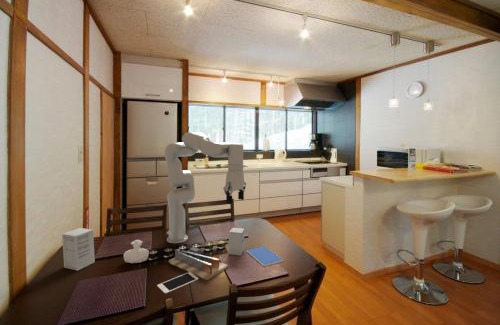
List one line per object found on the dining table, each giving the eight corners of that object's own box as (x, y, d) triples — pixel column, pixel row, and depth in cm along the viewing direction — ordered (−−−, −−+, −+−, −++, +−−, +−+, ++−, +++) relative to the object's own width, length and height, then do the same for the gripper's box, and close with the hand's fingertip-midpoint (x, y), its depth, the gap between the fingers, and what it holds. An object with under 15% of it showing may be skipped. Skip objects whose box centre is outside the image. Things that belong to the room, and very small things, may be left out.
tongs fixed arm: (174, 258, 130) (173, 250, 129) (178, 257, 132) (177, 248, 131) (210, 274, 115) (210, 264, 115) (214, 272, 117) (214, 262, 117)
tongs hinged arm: (181, 258, 129) (181, 250, 129) (182, 257, 130) (182, 250, 130) (218, 268, 120) (218, 260, 120) (219, 267, 121) (219, 259, 121)
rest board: (168, 262, 128) (168, 260, 128) (189, 252, 139) (189, 250, 139) (207, 280, 113) (207, 277, 113) (227, 267, 124) (227, 265, 124)
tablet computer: (284, 262, 132) (284, 259, 131) (263, 267, 125) (263, 265, 125) (264, 248, 148) (264, 245, 148) (245, 252, 142) (245, 250, 142)
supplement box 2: (241, 255, 137) (241, 233, 136) (228, 254, 138) (228, 231, 137) (244, 250, 144) (244, 228, 143) (231, 248, 146) (232, 227, 144)
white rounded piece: (149, 263, 132) (150, 241, 137) (147, 260, 125) (149, 237, 131) (124, 265, 129) (126, 243, 134) (121, 262, 122) (123, 239, 128)
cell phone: (156, 286, 108) (156, 285, 108) (189, 273, 119) (189, 271, 119) (165, 294, 103) (165, 293, 103) (199, 279, 114) (199, 278, 114)
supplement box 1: (95, 262, 127) (94, 229, 126) (77, 271, 119) (76, 236, 117) (81, 259, 130) (80, 227, 129) (63, 267, 122) (61, 233, 120)
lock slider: (189, 255, 133) (189, 248, 133) (193, 253, 136) (193, 246, 135) (196, 257, 130) (196, 251, 130) (200, 255, 133) (200, 249, 132)
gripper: (239, 165, 137) (239, 197, 138) (218, 168, 122) (218, 203, 124) (251, 167, 132) (250, 199, 134) (230, 170, 118) (230, 206, 120)
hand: (235, 201), depth 129 cm, fingers open, 9 cm apart
